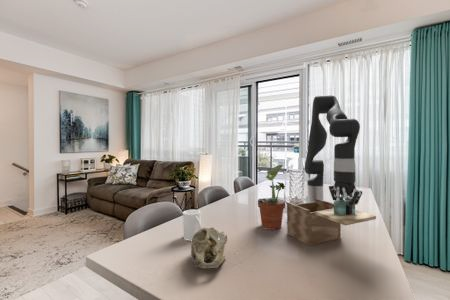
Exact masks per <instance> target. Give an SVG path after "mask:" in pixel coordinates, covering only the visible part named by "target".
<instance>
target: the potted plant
mask: <svg viewBox="0 0 450 300" xmlns="http://www.w3.org/2000/svg"><path fill="white" fill-rule="evenodd" d="M283 166H284V165H283V164H279V165H276V166H274V167H272V168H270V169H269V170H267V172H266V174H267V175H266V176H265V179H267V180H268V181H271V185H269V187H270V188H271V197H270V198H269V197H265V198H258V200H257V206H258V208H259V212H260V214H259V215H260V222H261V227H262V226H263V227H264V229H265V228H266V229H265V230H269V229H270V231H271V230H278V229H280V228H281V227H282V224H283V215H284V209H286V201H285V200H284V199H280V198H278V196H279V192H280V191H281V190H284V189H285V187H286V186H285V184H284V183H283V182H277V181H276V183H277V184H278V185H277V184H276V185H274V179H275V178H276V177H277V175H278V173H279V171H281V169H282V167H283ZM276 191H277V195H276ZM263 227H262V228H263Z"/></svg>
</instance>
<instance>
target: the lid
mask: <svg viewBox="0 0 450 300" xmlns="http://www.w3.org/2000/svg"><path fill="white" fill-rule="evenodd" d="M333 203H334V209H327V210H321V211H315V214H316V215H318V216H321V217H324V218H327V219H329V220H332V221H335V222H337V223H340V224H341V225H343V226H349V225H355V224H360V223H364V222H369V221H370V222H371V221H374V220H377V215H373V214H369V213H367V212H363V211H360V210H356V205H353V206H352V214H351V215H346V200H345V199H343V200H339V201H335V200H333Z"/></svg>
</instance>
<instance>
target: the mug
mask: <svg viewBox="0 0 450 300" xmlns="http://www.w3.org/2000/svg"><path fill="white" fill-rule="evenodd" d="M201 216H202V215H201V211H200V210H199V209H187V210H184V211H183V212H182V225H183V226H182V227H183V228H182V229H183V231H182V233H183V235H182V238H183V237H184V238H185V239H189V240H192V238H193V236H194V235H195V233H196V232H197V231H198V230H200V229H202V225H201V221H202V219H201V218H202V217H201Z"/></svg>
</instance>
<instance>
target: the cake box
mask: <svg viewBox="0 0 450 300" xmlns="http://www.w3.org/2000/svg"><path fill="white" fill-rule="evenodd" d="M327 209H334V202H330V201H327V200H324V199H323V200H320V199H316V202H309V203H306V202H303V203H297V204H294V203H291V202H286V223H287V224H286V230H287V231H286V233H287V235H289V236H291V237H292V238H294V239H296V240H298V241H300V242H301V243H303V244H305V245H307V246H311V245H317V244H320V243H321V244H322V243H325V242H329V241H333V240H338V239H341V238H342V237H341V235H342V234H341V231H342V228H341V225H342V224H340V223H337V222H335V221H332V220H329V219H327V218H324V217H321V216H318V215H316V214H315V211H321V210H327Z"/></svg>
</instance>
